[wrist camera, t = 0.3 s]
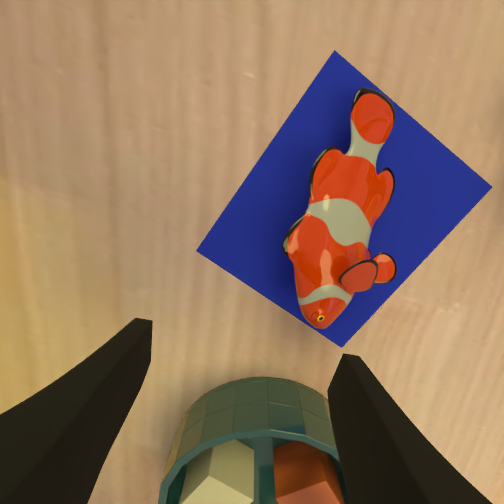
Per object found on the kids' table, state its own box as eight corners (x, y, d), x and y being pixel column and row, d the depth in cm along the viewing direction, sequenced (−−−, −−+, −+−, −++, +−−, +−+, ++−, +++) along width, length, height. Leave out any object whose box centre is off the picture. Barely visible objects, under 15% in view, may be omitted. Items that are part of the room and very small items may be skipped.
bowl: (257, 533, 29) (257, 605, 25) (140, 444, 26) (114, 507, 21) (385, 454, 26) (414, 519, 21) (268, 342, 23) (272, 390, 18)
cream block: (226, 477, 27) (222, 530, 23) (189, 456, 26) (177, 507, 22) (254, 450, 26) (253, 500, 22) (215, 427, 25) (208, 475, 21)
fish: (351, 361, 17) (227, 280, 16) (331, 319, 22) (234, 253, 20) (533, 172, 14) (399, 51, 13) (465, 169, 19) (361, 80, 17)
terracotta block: (292, 479, 27) (299, 532, 23) (272, 448, 26) (275, 499, 22) (334, 463, 26) (348, 516, 22) (315, 431, 25) (326, 480, 21)
